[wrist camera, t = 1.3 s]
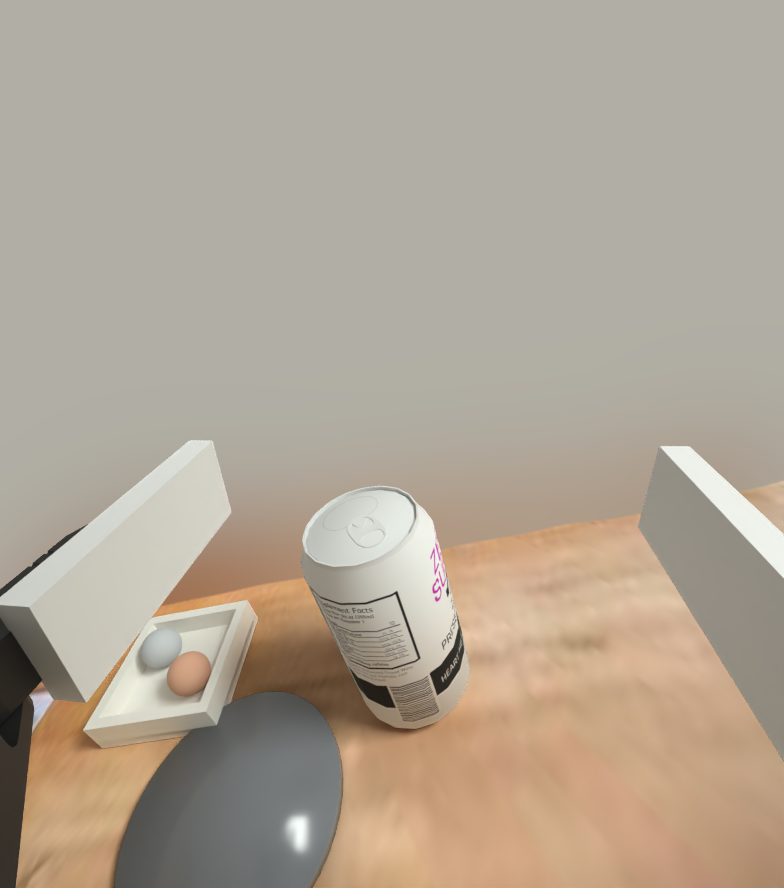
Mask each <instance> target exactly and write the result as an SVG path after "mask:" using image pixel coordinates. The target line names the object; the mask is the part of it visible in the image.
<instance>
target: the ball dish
mask: <svg viewBox="0 0 784 888" xmlns="http://www.w3.org/2000/svg"><path fill="white" fill-rule="evenodd" d="M257 621H258V617H257V616H256V614H255V612H254V611H253V609H252V607H251V606H250V604H249V602H248V601H247V600H245V601H240V602H234V603H229V604H223V605H218V606H213V607H207V608H202V609H196V610H191V611H186V612H180V613H175V614H169V615H164V616H159V617H153V618H151V619H150V620H149V621H148V623H147V624H146V625H145V627H144V628H143V630H142V632H141V633H140V635H139V637H138V638H137V640H136V642H135V644H134V645H133V647H132V649H131V650H130V652H129V654H128V655H127V657H126V659H125V660H124V662H123V664H122V665H121V667H120V669H119V670H118V672H117V674H116V676H115V677H114V679H113V681H112V682H111V684H110V686H109V687H108V689H107V691H106V692H105V694H104V696H103V697H102V699H101V701H100V702H99V704H98V706H97V708H96V709H95V711H94V713H93V714H92V716H91V718H90V719H89V721H88V723H87V724H86V726H85V728H84V729H83V731H84V732H85V733H86V734H87V735H88V736H89V737H90V738H92V739H93V740H94V741H95V742H96V743H97V744H98V745H99V746H100V747H101V748H102V749H103V748H109V747H116V746H123V745H130V744H137V743H143V742H150V741H157V740H164V739H171V738H177V737H184V736H186V735H187V734H188V733H189V732H190V731H191V730H192V729H195V728H201V727H208V726H215V725H217V723H218V720H219V717H220V714H221V711H222V708H223V707H224V706H226V705H227V704H229V703H231V700H232V697H233V694H234V691H235V688H236V685H237V682H238V679H239V676H240V673H241V670H242V667H243V664H244V661H245V658H246V654H247V651H248V648H249V645H250V642H251V639H252V636H253V633H254V630H255V627H256V624H257ZM160 628H171V629H174V630H175V631H177V632H178V633H179V635H180V636H181V639H182V649H181V652H180V654H179V656H180V655H181V654H183V653H186V652H189V651H197V652H200V653H203V654H204V655H205V656H206V657H207V658H208V660H209V662H210V665H211V674H210V677H209V680H208V682H207V683H206V685H205V686H204V687H203V688H202V689H201V690H200V691H199V692H197V693H196V694H194V695H191V696H178V695H176V694H174V693H173V692H172V691H171V690H170V688H169V687H168V684H167V672H168V669H169V667H170V665H171V664H172V663H171V664H170V665H168V666H166V667H162V668H152V667H149V666H148V665H146V664H145V663H144V662H143V660H142V658H141V646H142V643H143V641H144V640H145V638H146V637H147V636H148V635H149V634H150V633H151V632H153V631H155V630H157V629H160Z"/></svg>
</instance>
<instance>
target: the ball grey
mask: <svg viewBox="0 0 784 888" xmlns="http://www.w3.org/2000/svg"><path fill="white" fill-rule="evenodd" d="M181 649H182V639H181V636H180V635H179V633H178V632H177V631H175V630H174V629H171V628H160V629H157V630H155V631H153V632H151V633H150V634H149V635H148V636H147V637H146V638H145V640H144V641H143V643H142V646H141V658H142V660H143V662H144V663H145V664H146V665H148V666H149V667H152V668H162V667H166V666H168V665H170V664H171V663H172V662H173V661H174V660H175V659H176V658H177V657H178V656H179V654H180V652H181Z"/></svg>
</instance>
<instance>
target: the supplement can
mask: <svg viewBox="0 0 784 888" xmlns="http://www.w3.org/2000/svg"><path fill="white" fill-rule="evenodd" d="M302 541H303V545H304V547H303V552H302V558H301V565H302V569H303V573H304V578H305V580H306V582H307V584H308V586H309V588H310V590H311V592H312V594H313V596H314V598H315V600H316V603H317V605H318V607H319V609H320V611H321V613H322V615H323V617H324V619H325V621H326V623H327V625H328V627H329V629H330V631H331V634H332V636H333V638H334V640H335V642H336V644H337V646H338V648H339V650H340V652H341V654H342V656H343V658H344V660H345V662H346V665H347V667H348V669H349V671H350V673H351V675H352V677H353V679H354V681H355V683H356V685H357V687H358V689H359V691H360V693H361V695H362V698H363V700H364V702H365V704H366V705H367V706H368V708H369V709H370V710H371V711H372V712H373V714H374V715H375V716H376V717H377V718H378V719H379V720H381V721H383V722H385V723H387V724H389V725H391V726H393V727H395V728H409V729H418V728H421V727H424V726H427V725H430V724H433V723H436V722H438V721H439V720H441V719H442V718H443V717H444V716H446V715H447V714H448V713H449V712H451V711H452V710H453V709H454V708H455V707H456V705H457V704H458V702H459V701H460V699H461V697H462V696H463V694H464V692H465V691H466V687H467V683H468V678H469V673H470V667H469V661H468V655H467V650H466V646H465V642H464V639H463V635H462V631H461V627H460V623H459V620H458V616H457V612H456V608H455V604H454V601H453V597H452V593H451V589H450V585H449V581H448V578H447V574H446V570H445V566H444V562H443V559H442V555H441V551H440V547H439V544H438V540H437V536H436V532H435V528H434V524H433V521H432V519H431V518H430V517H429V515H428V514H427V513H426V512H425V510H424V509H423V508H422V507H421V506H420V505H419V504H417V503H416V502H415V501H414V499H413V498H412V496H411V495H410V494H409V493H407V492H405V491H403V490H401V489H399V488H394V487H388V486H374V487H364V488H360V489H357V490H354V491H351V492H347V493H345V494H343V495H341V496H339V497H338V498H335V499H334V500H332V501H330V502H329V503H327V504H326V505H325V506H324V507H322V508H321V509H320V510H319V511H318V512H316V513H315V514H314V516H313V517H312V519H311V520H310V522H309V523H308V524H307V525H306V528H305V532H304V535H303V539H302Z"/></svg>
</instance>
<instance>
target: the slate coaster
mask: <svg viewBox="0 0 784 888" xmlns="http://www.w3.org/2000/svg"><path fill="white" fill-rule="evenodd" d="M342 796H343V771H342V761H341V756H340V751H339V747H338V744H337V742H336V739H335V736H334V734H333V732H332V730H331V728H330V726H329V725H328V723H327V721H326V720H325V718H324V717H323V716H322V714H321V713H320V712H319V710H318V709H316V708H315V707H314V706H313V705H312V704H311V703H310V702H308V701H306V700H305V699H303V698H301V697H299V696H296V695H294V694H290V693H285V692H273V691H272V692H262V693H257V694H253V695H249V696H246V697H243V698H240V699H238V700H236V701H234V702H232V703H229V704H227V705H226V706H224V707H223V708H222V711H221V714H220V717H219V720H218V723H217V725H215V726H208V727H201V728H195V729H192V730H191V731H190V732H189V733H188V734H187V735H186V736H185V737H184V738H183V739H182V740H181V741H180V742H179V743H178V745H177V746H176V747H175V748H174V749H173V750H172V751H171V753H170V754H169V755H168V756H167V758H166V759H165V760H164V762H163V763H162V764H161V765H160V767H159V768H158V770H157V771H156V773H155V774H154V776H153V777H152V779H151V780H150V782H149V784H148V785H147V787H146V789H145V791H144V792H143V794H142V796H141V798H140V800H139V802H138V804H137V806H136V808H135V810H134V812H133V814H132V817H131V819H130V822H129V825H128V827H127V830H126V832H125V836H124V839H123V842H122V846H121V849H120V853H119V858H118V863H117V868H116V875H115V885H114V888H313V886H314V884H315V882H316V881H317V879H318V877H319V875H320V873H321V871H322V868H323V866H324V864H325V861H326V859H327V857H328V855H329V852H330V849H331V846H332V843H333V840H334V837H335V834H336V829H337V825H338V821H339V817H340V811H341V804H342Z"/></svg>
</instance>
